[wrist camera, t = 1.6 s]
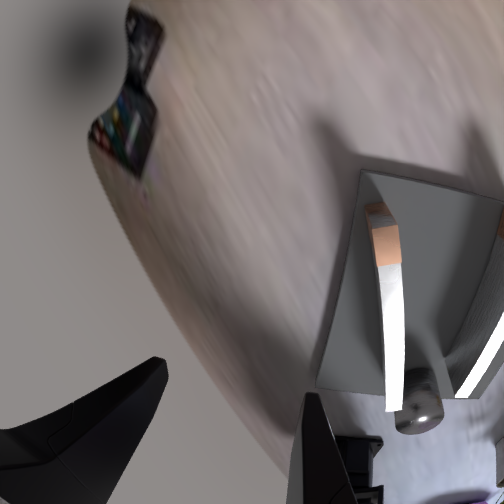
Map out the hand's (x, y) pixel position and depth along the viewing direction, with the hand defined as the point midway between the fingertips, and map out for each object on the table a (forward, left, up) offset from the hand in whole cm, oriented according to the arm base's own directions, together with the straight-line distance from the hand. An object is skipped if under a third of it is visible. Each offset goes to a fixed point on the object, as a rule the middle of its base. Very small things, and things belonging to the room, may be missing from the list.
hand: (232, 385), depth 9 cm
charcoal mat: (-4, -13, -13) cm, 18 cm away
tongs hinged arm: (-5, -10, -12) cm, 16 cm away
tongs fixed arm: (-1, -15, -12) cm, 19 cm away
